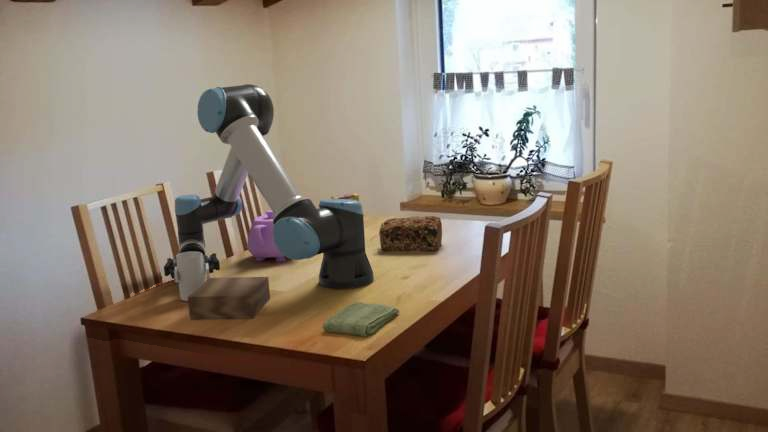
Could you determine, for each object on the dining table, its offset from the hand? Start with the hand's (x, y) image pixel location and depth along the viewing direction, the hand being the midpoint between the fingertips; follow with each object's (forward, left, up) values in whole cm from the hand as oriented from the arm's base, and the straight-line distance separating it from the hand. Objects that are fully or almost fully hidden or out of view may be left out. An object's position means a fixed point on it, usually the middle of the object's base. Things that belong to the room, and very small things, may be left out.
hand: (192, 275), depth 212 cm
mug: (+1, -4, -7) cm, 9 cm away
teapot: (-12, -41, -7) cm, 44 cm away
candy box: (-30, -63, -7) cm, 70 cm away
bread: (-53, -50, -7) cm, 74 cm away
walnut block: (-12, +7, -7) cm, 16 cm away
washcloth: (-48, +18, -8) cm, 51 cm away
